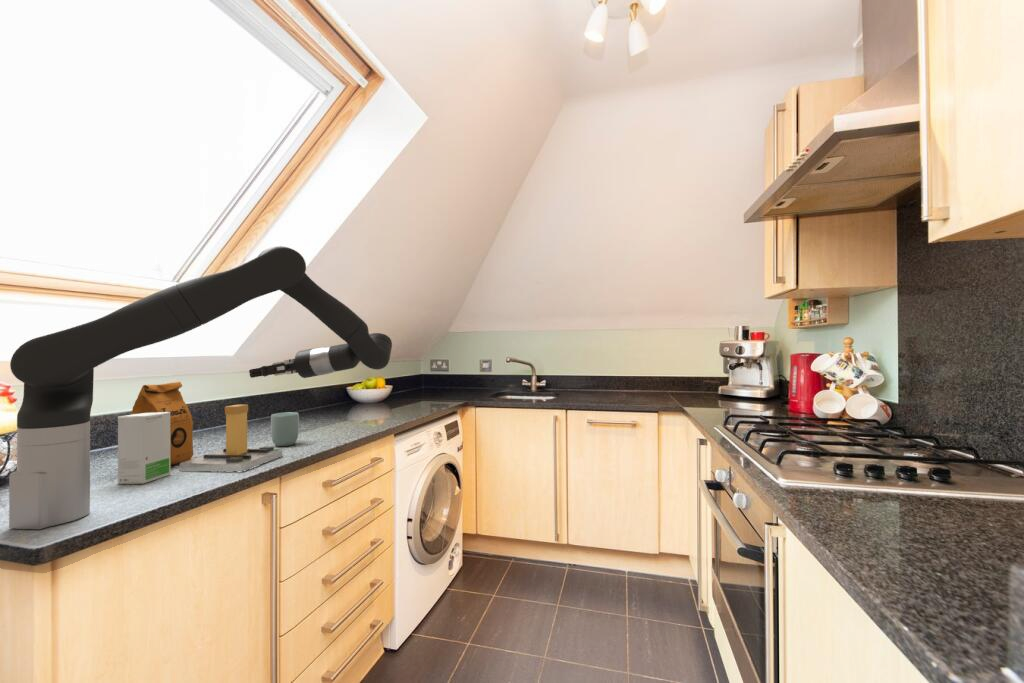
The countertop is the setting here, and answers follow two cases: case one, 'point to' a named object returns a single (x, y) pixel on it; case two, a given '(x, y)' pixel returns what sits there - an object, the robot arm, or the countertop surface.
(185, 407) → the coffee package
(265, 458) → the plate
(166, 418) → the skincare box
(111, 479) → the countertop surface
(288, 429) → the cup
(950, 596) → the countertop surface
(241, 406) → the handle
